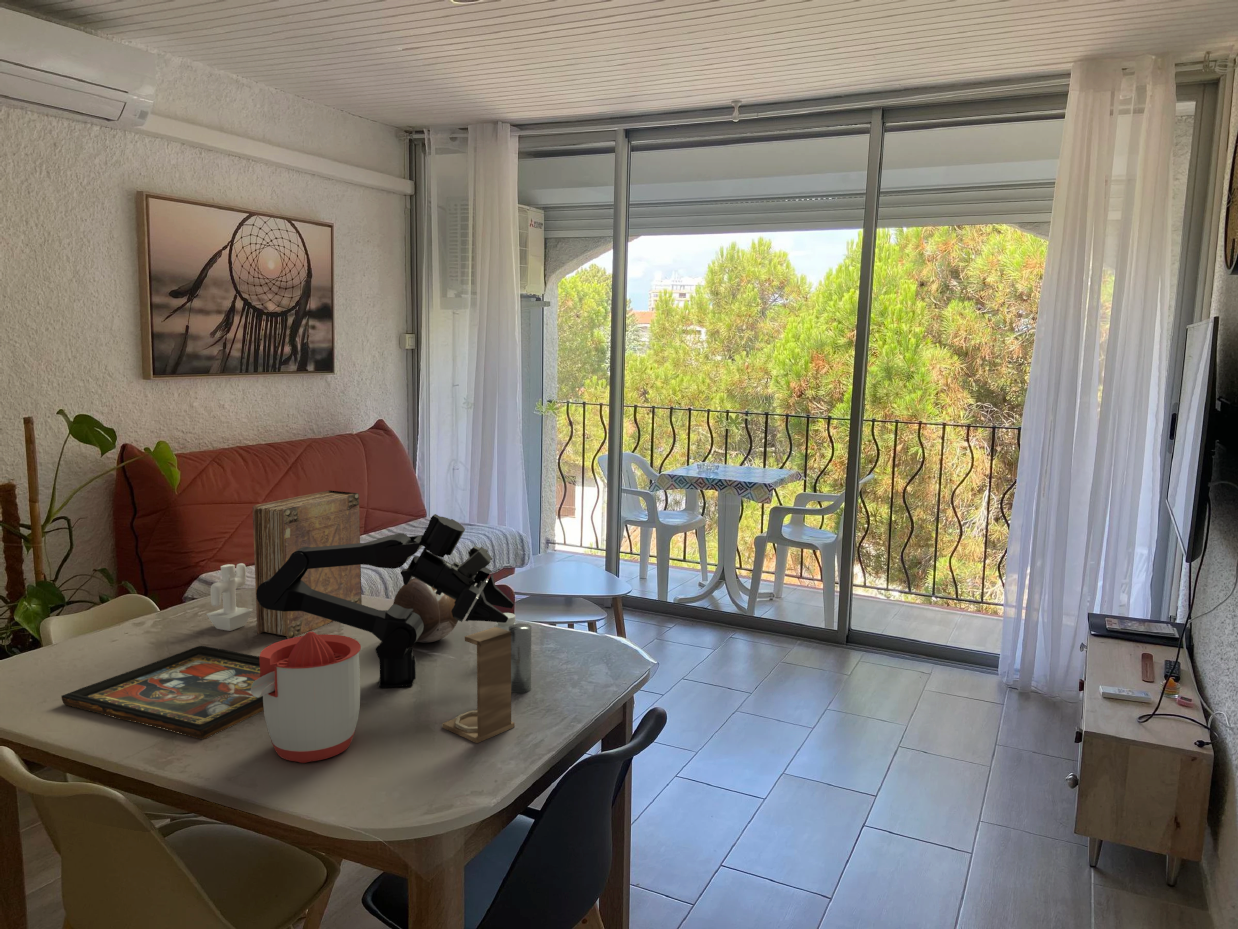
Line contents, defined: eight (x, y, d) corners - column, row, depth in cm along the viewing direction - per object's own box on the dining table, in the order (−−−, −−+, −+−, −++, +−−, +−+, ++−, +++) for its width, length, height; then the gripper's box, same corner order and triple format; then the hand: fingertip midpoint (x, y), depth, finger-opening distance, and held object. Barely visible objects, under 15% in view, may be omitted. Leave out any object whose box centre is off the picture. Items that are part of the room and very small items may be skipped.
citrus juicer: (237, 750, 143) (231, 632, 141) (336, 719, 155) (333, 611, 153) (277, 784, 132) (272, 658, 130) (380, 749, 144) (378, 632, 142)
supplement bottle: (492, 663, 184) (492, 619, 183) (493, 654, 189) (493, 612, 188) (518, 663, 185) (518, 619, 183) (518, 654, 190) (518, 611, 189)
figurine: (202, 630, 202) (199, 567, 200) (234, 619, 211) (231, 558, 209) (226, 635, 200) (223, 571, 198) (257, 623, 208) (255, 562, 206)
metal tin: (509, 693, 168) (509, 631, 166) (508, 685, 172) (508, 624, 171) (532, 692, 169) (532, 630, 167) (530, 683, 173) (530, 623, 172)
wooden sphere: (428, 656, 187) (427, 589, 185) (379, 643, 195) (377, 578, 193) (474, 637, 200) (474, 574, 198) (426, 626, 208) (425, 564, 206)
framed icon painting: (340, 672, 179) (340, 659, 179) (220, 747, 146) (219, 730, 145) (187, 653, 189) (186, 640, 189) (41, 718, 156) (40, 702, 155)
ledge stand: (442, 727, 153) (441, 630, 150) (479, 712, 159) (479, 619, 157) (477, 743, 147) (476, 642, 145) (514, 727, 153) (514, 630, 151)
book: (287, 639, 197) (282, 509, 193) (256, 634, 201) (251, 505, 197) (362, 609, 220) (359, 492, 216) (333, 605, 224) (329, 489, 220)
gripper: (450, 550, 160) (524, 591, 161) (468, 529, 179) (534, 566, 180) (422, 601, 161) (495, 642, 162) (442, 575, 180) (508, 612, 181)
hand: (510, 613), depth 171 cm, fingers open, 9 cm apart
